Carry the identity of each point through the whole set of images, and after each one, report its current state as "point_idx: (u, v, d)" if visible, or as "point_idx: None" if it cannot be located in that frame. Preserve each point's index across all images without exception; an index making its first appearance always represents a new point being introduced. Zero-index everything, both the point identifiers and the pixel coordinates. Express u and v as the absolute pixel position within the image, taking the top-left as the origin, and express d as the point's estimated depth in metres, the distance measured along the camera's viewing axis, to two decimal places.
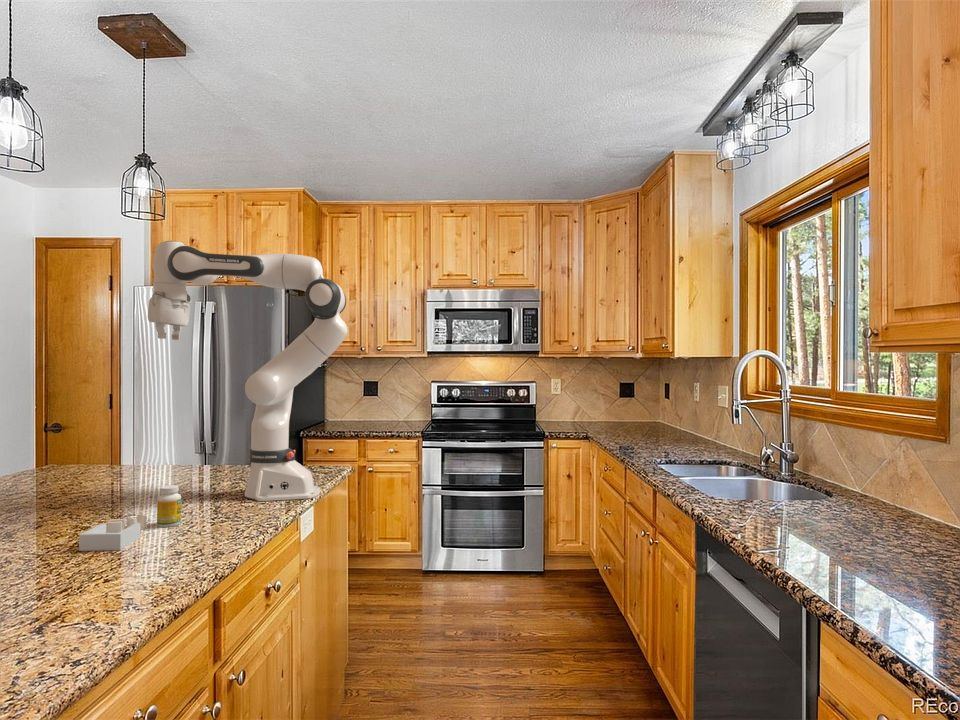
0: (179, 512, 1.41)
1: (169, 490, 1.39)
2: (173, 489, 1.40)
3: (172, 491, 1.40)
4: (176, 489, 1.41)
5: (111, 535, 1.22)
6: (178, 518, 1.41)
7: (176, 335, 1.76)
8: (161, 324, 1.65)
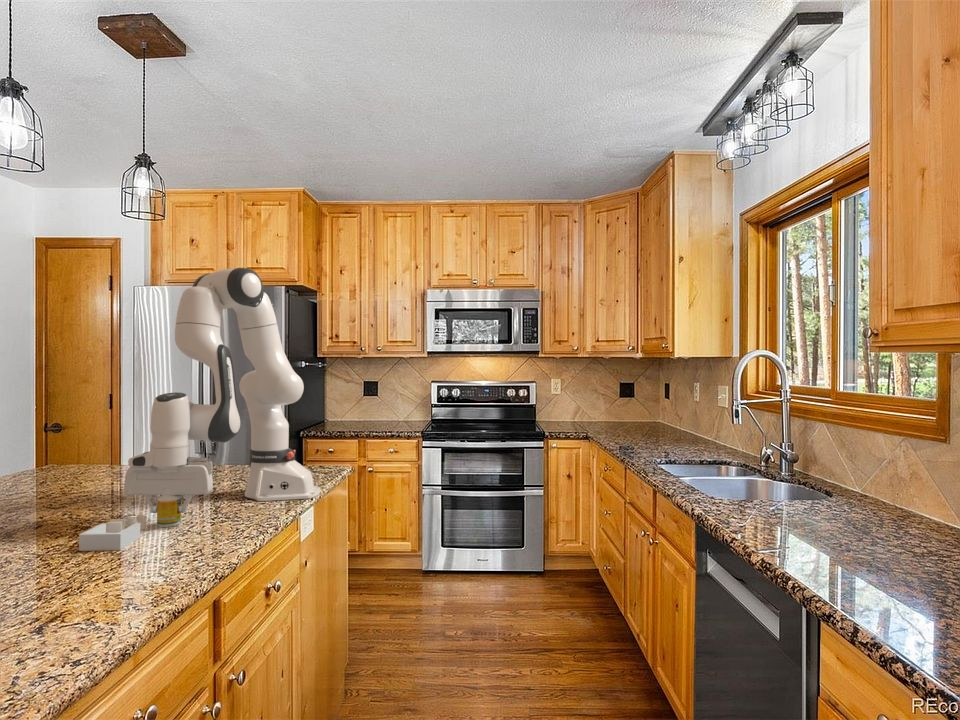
0: (179, 512, 1.41)
1: (169, 490, 1.39)
2: None
3: None
4: None
5: (111, 535, 1.22)
6: (178, 518, 1.41)
7: None
8: (191, 494, 1.42)
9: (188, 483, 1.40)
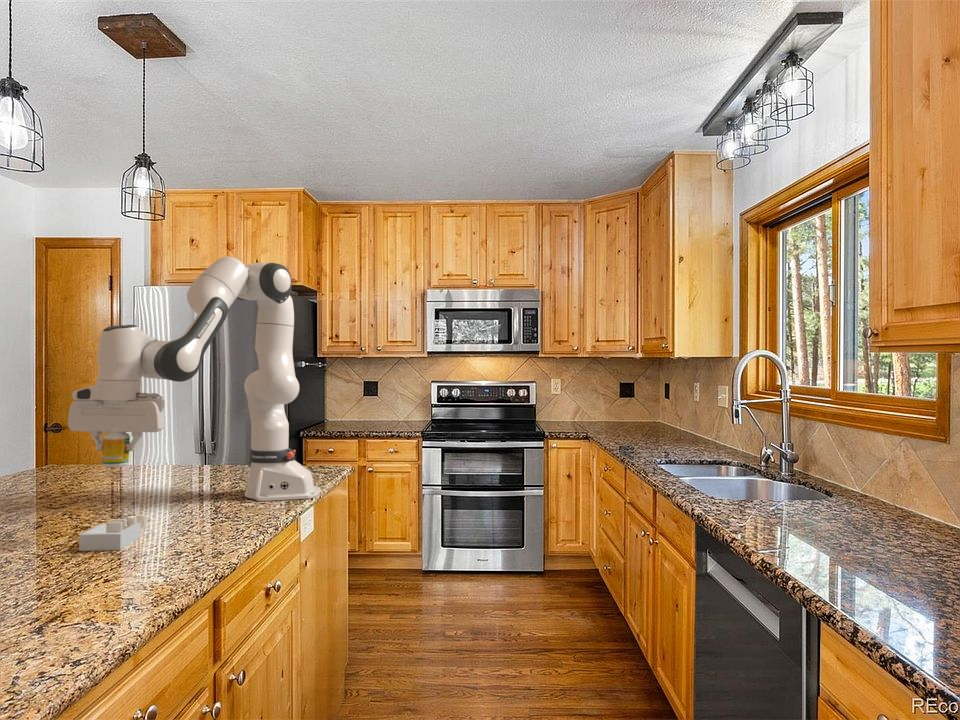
0: (127, 452, 1.33)
1: (116, 427, 1.31)
2: None
3: None
4: None
5: (111, 535, 1.22)
6: (125, 459, 1.32)
7: None
8: (141, 433, 1.34)
9: (137, 419, 1.31)
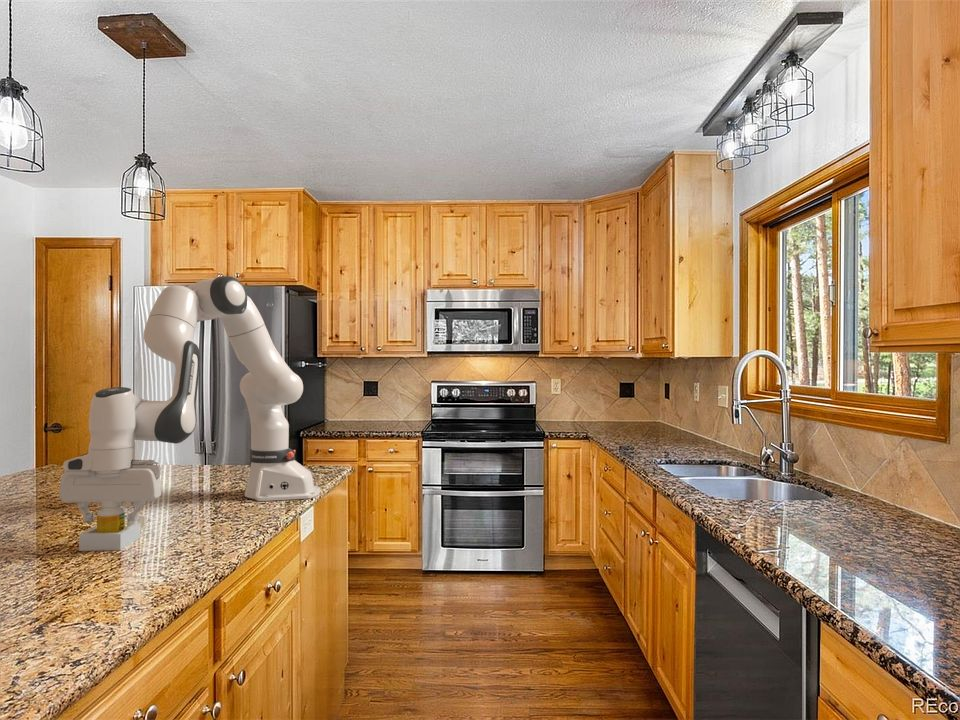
0: (122, 528, 1.26)
1: (110, 503, 1.24)
2: (115, 502, 1.25)
3: (114, 504, 1.24)
4: (119, 502, 1.26)
5: (111, 535, 1.22)
6: None
7: (93, 514, 1.26)
8: (143, 501, 1.27)
9: (132, 488, 1.25)
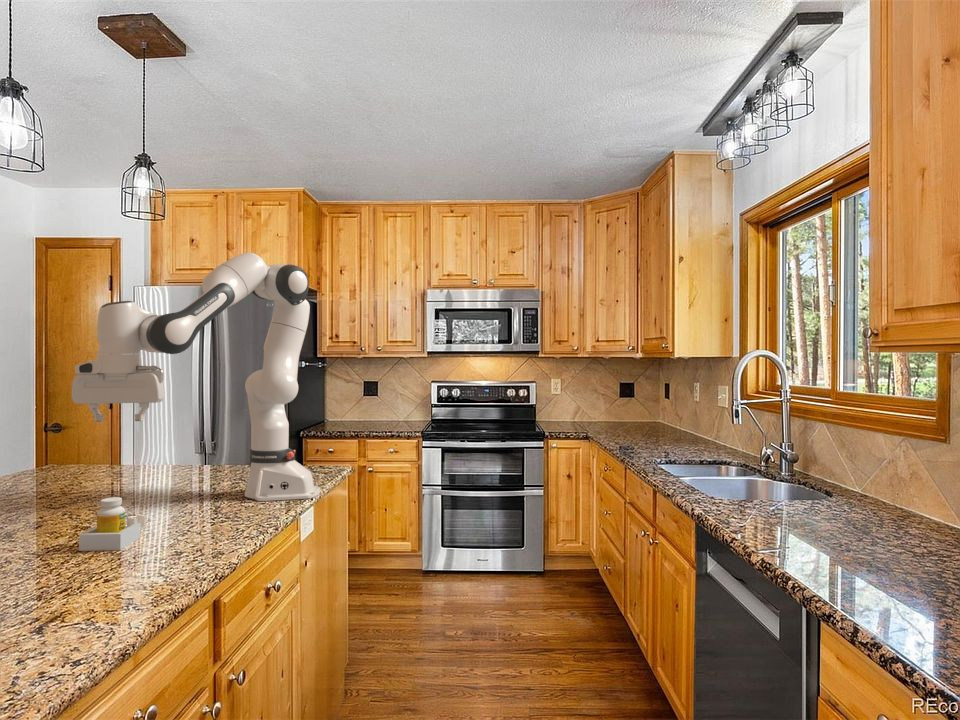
0: (122, 528, 1.26)
1: (110, 503, 1.24)
2: (115, 502, 1.25)
3: (114, 504, 1.24)
4: (119, 502, 1.26)
5: (111, 535, 1.22)
6: None
7: (103, 415, 1.39)
8: (148, 404, 1.41)
9: (138, 390, 1.38)
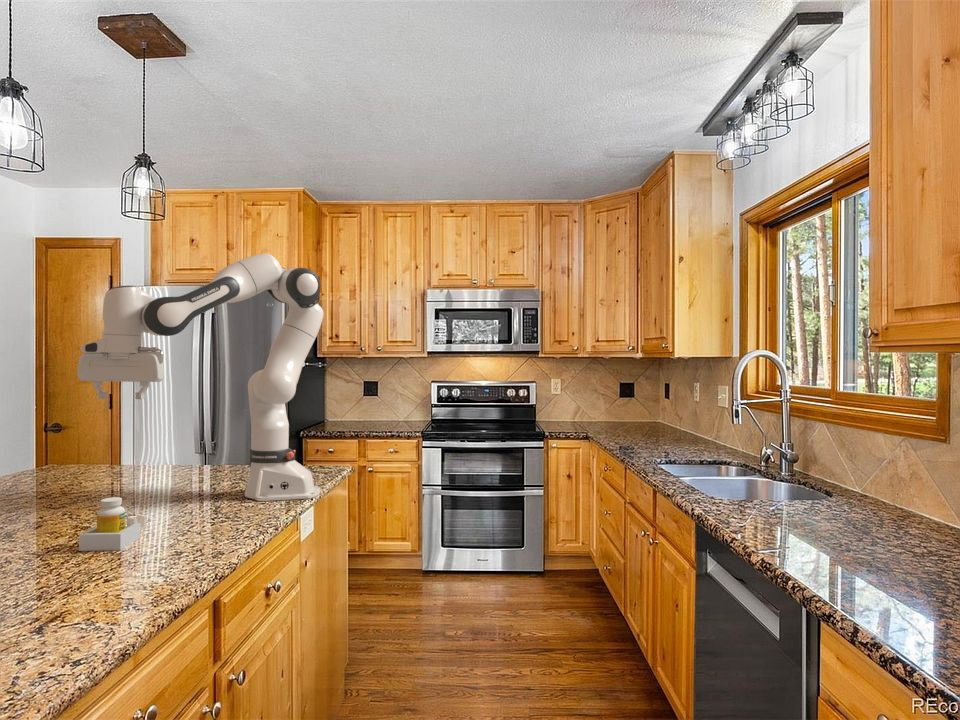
0: (122, 528, 1.26)
1: (110, 503, 1.24)
2: (115, 502, 1.25)
3: (114, 504, 1.24)
4: (119, 502, 1.26)
5: (111, 535, 1.22)
6: None
7: (106, 393, 1.48)
8: (148, 383, 1.49)
9: (139, 370, 1.47)
